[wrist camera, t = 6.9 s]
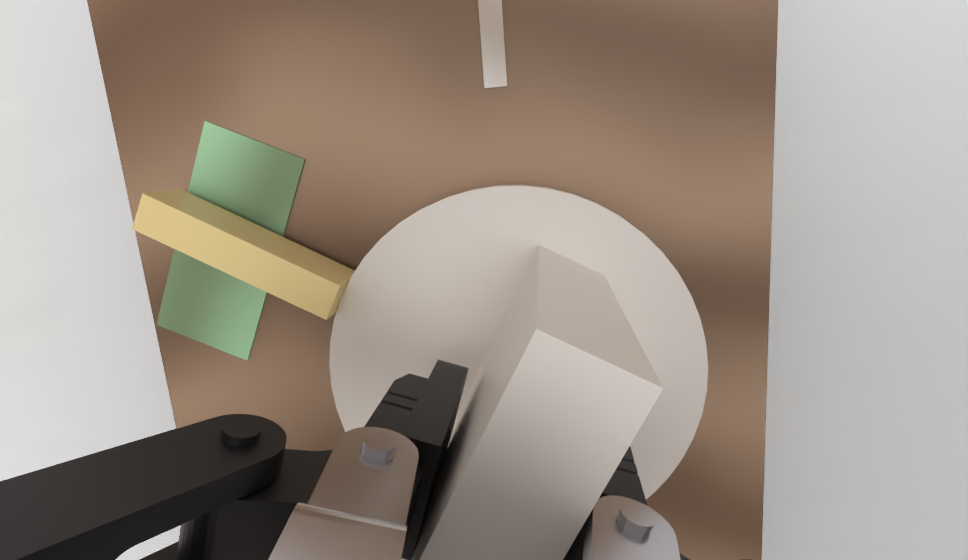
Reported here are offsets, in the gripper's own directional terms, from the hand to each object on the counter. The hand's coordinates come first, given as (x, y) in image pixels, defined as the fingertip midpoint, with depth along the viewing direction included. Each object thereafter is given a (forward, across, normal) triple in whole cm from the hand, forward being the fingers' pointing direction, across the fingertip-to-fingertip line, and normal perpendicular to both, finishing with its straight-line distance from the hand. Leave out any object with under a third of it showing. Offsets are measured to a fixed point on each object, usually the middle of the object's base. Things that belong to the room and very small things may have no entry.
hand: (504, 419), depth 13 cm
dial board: (+6, +2, -1) cm, 7 cm away
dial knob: (+3, +3, 0) cm, 4 cm away
